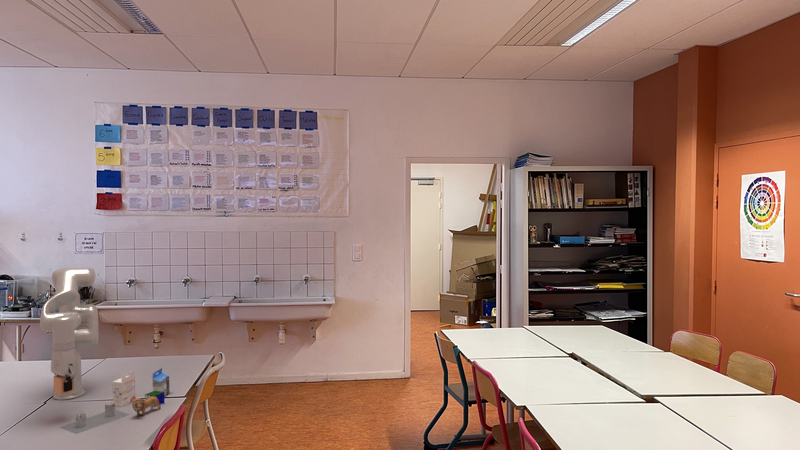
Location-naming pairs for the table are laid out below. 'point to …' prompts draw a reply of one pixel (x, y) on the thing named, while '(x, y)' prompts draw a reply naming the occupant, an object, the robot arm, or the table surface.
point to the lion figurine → (145, 404)
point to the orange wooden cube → (61, 384)
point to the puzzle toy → (156, 394)
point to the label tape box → (161, 382)
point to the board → (94, 422)
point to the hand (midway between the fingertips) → (64, 389)
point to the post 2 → (109, 409)
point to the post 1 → (80, 419)
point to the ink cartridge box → (124, 389)
